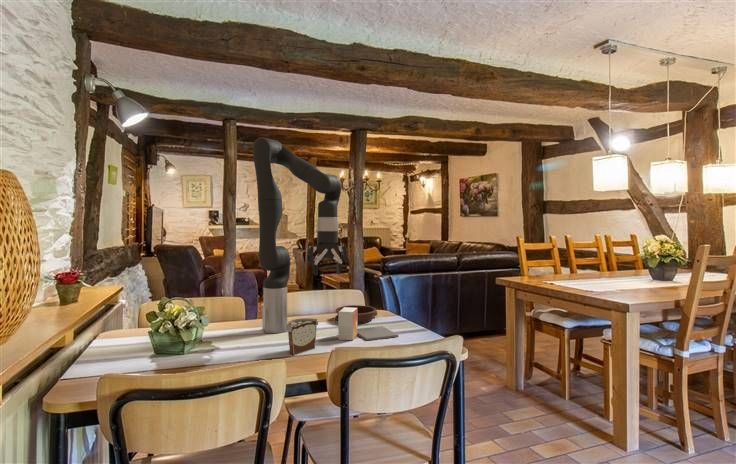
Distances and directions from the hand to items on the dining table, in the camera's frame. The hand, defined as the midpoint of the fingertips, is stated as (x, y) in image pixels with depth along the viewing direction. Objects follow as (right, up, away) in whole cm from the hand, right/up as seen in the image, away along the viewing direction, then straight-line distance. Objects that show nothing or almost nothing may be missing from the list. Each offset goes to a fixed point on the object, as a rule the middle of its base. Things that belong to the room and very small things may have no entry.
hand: (327, 274), depth 154 cm
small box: (+7, -24, +5) cm, 26 cm away
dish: (+10, -24, +32) cm, 41 cm away
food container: (-9, -25, -11) cm, 28 cm away
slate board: (+17, -24, +9) cm, 31 cm away
